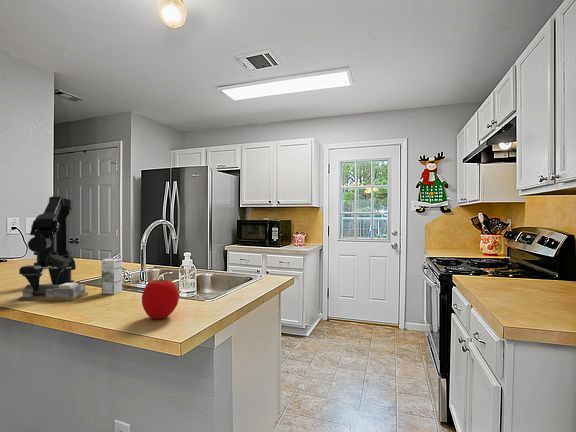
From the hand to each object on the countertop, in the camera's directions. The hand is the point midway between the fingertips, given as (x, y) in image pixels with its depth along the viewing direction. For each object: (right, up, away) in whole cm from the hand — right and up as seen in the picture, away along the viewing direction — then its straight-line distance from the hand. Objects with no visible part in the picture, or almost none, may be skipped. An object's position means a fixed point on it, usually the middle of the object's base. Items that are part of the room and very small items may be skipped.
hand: (45, 288), depth 127 cm
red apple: (+55, -5, -23) cm, 59 cm away
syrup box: (+22, -4, +8) cm, 24 cm away
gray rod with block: (+2, -3, 0) cm, 3 cm away
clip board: (+3, -4, 0) cm, 5 cm away
